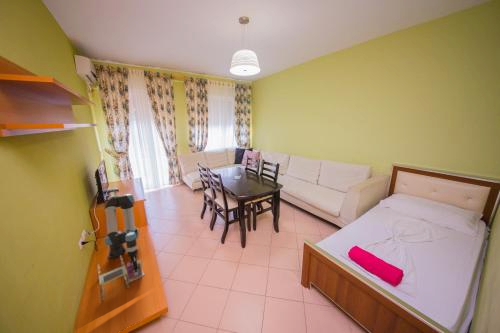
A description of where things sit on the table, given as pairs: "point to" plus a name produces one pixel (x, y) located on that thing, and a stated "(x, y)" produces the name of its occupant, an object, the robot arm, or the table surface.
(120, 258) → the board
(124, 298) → the table surface
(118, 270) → the cover
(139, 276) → the mat
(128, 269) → the box
